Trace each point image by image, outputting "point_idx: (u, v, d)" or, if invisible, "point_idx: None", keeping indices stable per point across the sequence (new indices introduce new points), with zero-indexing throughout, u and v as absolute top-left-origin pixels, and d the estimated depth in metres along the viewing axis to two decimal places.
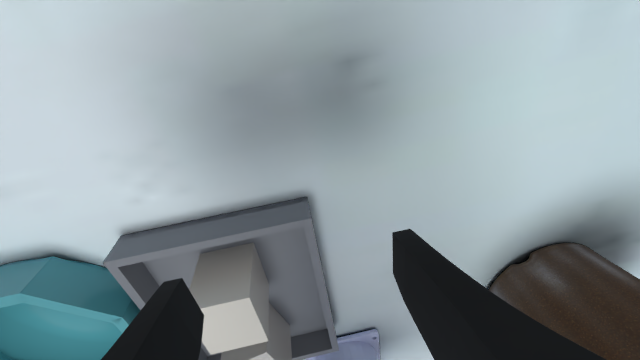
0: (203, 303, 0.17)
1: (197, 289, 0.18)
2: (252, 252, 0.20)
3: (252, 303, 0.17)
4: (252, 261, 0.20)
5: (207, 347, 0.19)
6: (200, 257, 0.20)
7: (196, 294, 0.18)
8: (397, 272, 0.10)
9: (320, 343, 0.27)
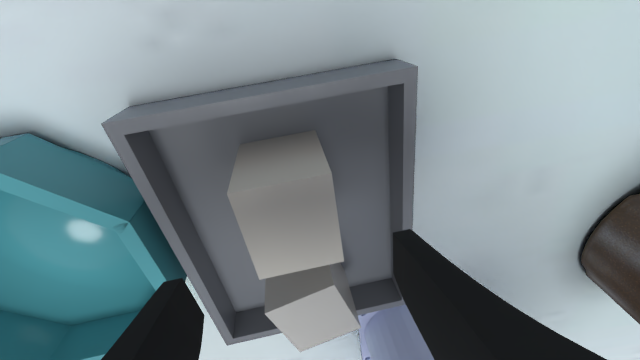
0: (259, 182, 0.11)
1: (245, 172, 0.12)
2: (317, 137, 0.14)
3: None
4: None
5: (256, 266, 0.12)
6: (241, 146, 0.14)
7: (244, 176, 0.11)
8: (397, 272, 0.10)
9: (384, 294, 0.20)
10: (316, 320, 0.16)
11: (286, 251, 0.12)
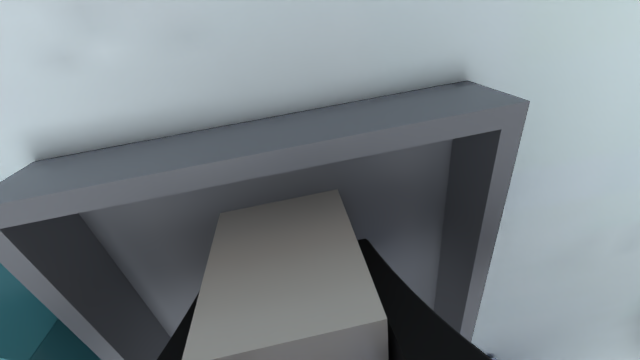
0: (245, 333, 0.06)
1: (221, 292, 0.07)
2: (343, 207, 0.09)
3: None
4: None
5: None
6: (222, 219, 0.09)
7: (219, 307, 0.06)
8: None
9: None
10: None
11: None
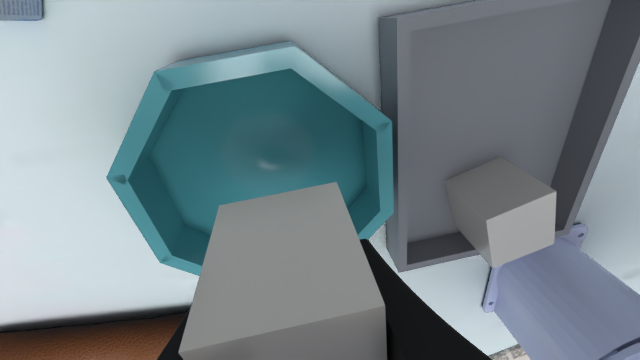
0: (243, 320, 0.06)
1: (220, 281, 0.07)
2: (341, 199, 0.09)
3: (383, 322, 0.06)
4: None
5: None
6: (221, 211, 0.09)
7: (218, 295, 0.06)
8: None
9: None
10: (523, 232, 0.17)
11: None
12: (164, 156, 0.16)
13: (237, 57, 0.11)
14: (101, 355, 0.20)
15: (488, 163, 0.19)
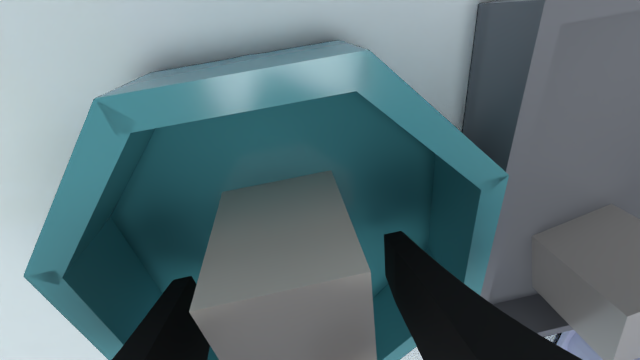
0: (246, 285, 0.06)
1: (224, 255, 0.07)
2: (335, 185, 0.10)
3: None
4: None
5: None
6: (224, 197, 0.10)
7: (223, 266, 0.07)
8: (388, 274, 0.10)
9: None
10: None
11: None
12: (135, 217, 0.10)
13: (258, 71, 0.06)
14: None
15: (595, 213, 0.14)
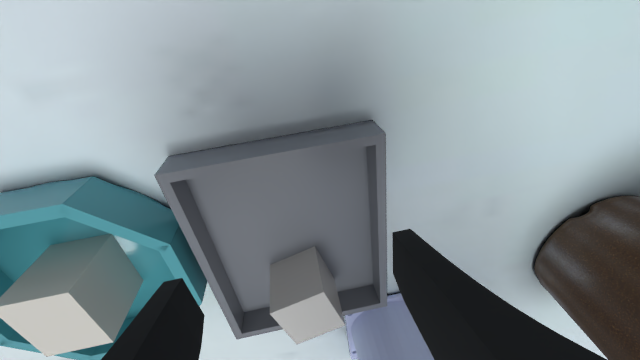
0: (18, 297, 0.15)
1: (22, 283, 0.16)
2: (104, 243, 0.18)
3: (76, 299, 0.15)
4: (99, 253, 0.18)
5: (38, 348, 0.17)
6: (48, 248, 0.19)
7: (17, 288, 0.16)
8: (397, 272, 0.10)
9: (366, 298, 0.25)
10: (310, 319, 0.20)
11: (59, 338, 0.17)
12: (3, 258, 0.19)
13: (15, 213, 0.15)
14: None
15: (304, 251, 0.23)
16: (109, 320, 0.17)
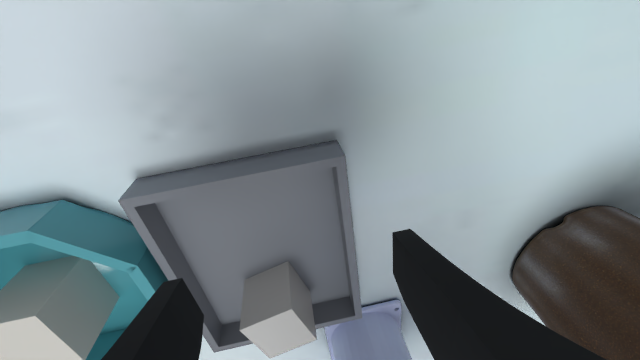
0: None
1: None
2: (76, 264, 0.19)
3: (44, 321, 0.16)
4: (70, 274, 0.18)
5: None
6: (22, 269, 0.19)
7: None
8: (397, 272, 0.10)
9: (342, 310, 0.25)
10: (280, 334, 0.20)
11: (30, 358, 0.17)
12: None
13: None
14: None
15: (277, 266, 0.23)
16: (80, 339, 0.18)
